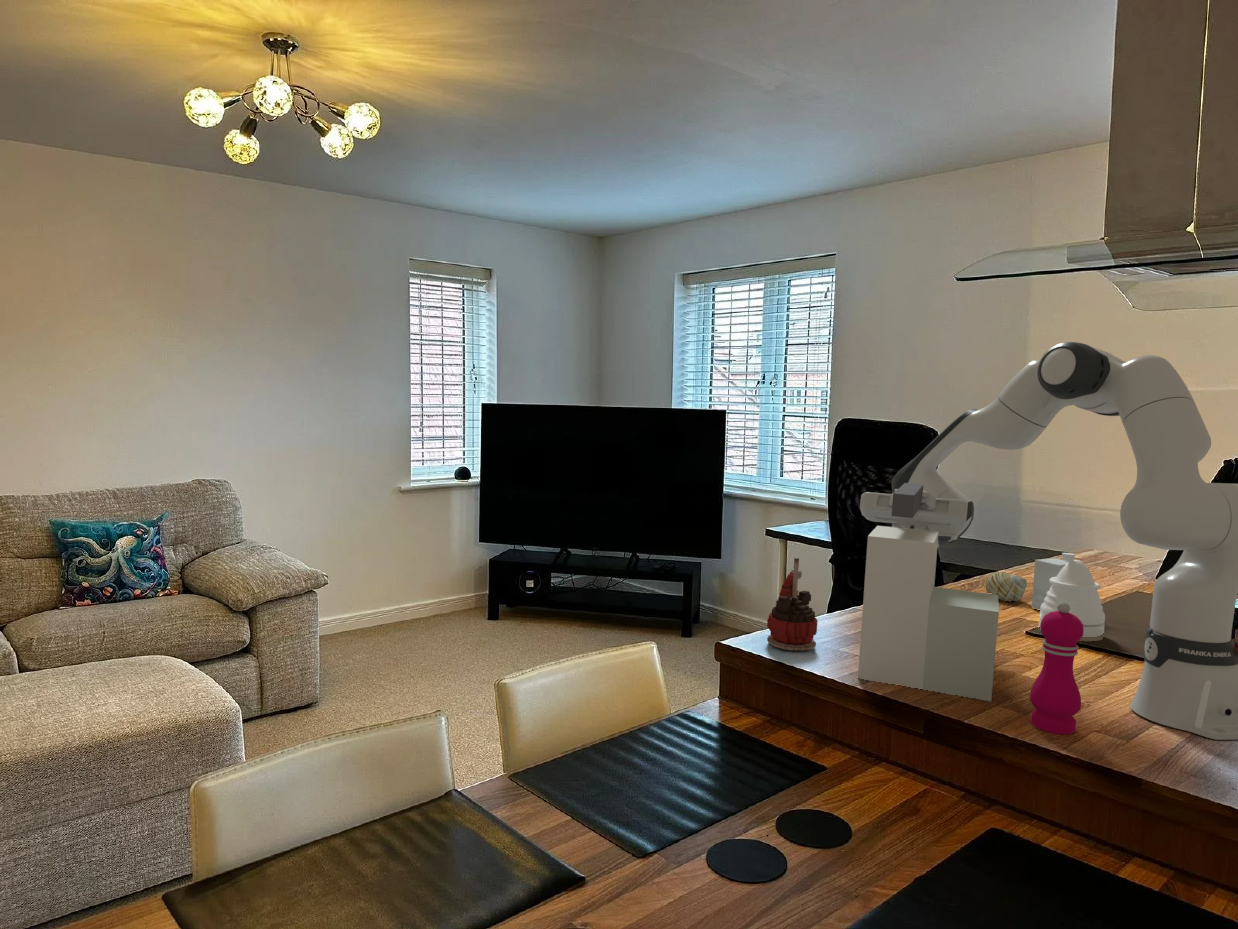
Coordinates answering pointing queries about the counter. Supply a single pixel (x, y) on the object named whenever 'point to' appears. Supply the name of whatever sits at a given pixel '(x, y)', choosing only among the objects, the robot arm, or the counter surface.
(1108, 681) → the counter surface
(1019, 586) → the yarn ball
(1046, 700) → the pepper mill
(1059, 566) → the supplement box
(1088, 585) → the honey pot
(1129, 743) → the counter surface
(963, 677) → the step stand
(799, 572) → the cake
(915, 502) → the gray rectangular bar
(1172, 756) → the counter surface
